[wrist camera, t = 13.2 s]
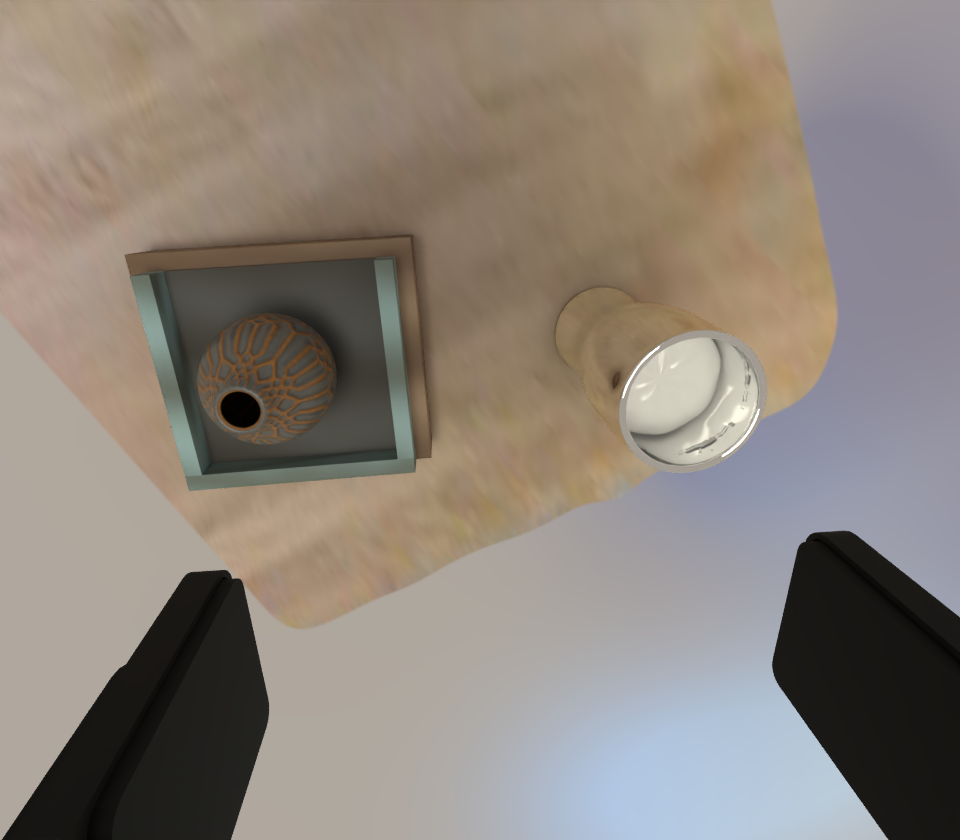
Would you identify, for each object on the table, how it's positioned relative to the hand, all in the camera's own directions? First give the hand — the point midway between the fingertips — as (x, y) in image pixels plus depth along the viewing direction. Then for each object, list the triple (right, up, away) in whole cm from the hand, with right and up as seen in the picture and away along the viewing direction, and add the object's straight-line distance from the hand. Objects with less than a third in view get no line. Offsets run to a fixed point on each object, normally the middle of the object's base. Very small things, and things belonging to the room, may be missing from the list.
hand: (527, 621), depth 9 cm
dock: (-13, +8, +28) cm, 31 cm away
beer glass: (+7, +9, +29) cm, 31 cm away
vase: (-13, +7, +25) cm, 28 cm away
